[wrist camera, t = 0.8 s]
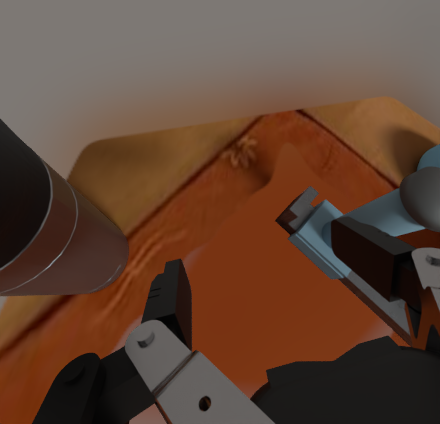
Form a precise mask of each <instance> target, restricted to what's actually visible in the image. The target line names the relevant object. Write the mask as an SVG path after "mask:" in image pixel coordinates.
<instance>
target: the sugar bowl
mask: <svg viewBox="0 0 440 424" xmlns="http://www.w3.org/2000/svg"><path fill="white" fill-rule="evenodd" d="M429 166H433V167H439V168H440V144H439V145H437V146H435V147H433V148H431V149H429V150H428V151H427V152H426V153H425V154H424V155H423V156H422V157H421V159H420V162H419V164H418V167H417V171H418V170H420V169H422V168H424V167H429Z"/></svg>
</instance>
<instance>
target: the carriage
mask: <svg viewBox="0 0 440 424" xmlns="http://www.w3.org/2000/svg"><path fill="white" fill-rule="evenodd" d="M314 208H315V210H314V211H313V212H312V214H311V215H310V216H309V217H308V218H307V219H306V221H305V222H304V223H303V224H302V225H301V227H300V228H299V229H298V230H297V231H296V232H295V233H294V234H292V235H290V237H289V238H288V240H290V241H291V242H292V243H293V244H294V245H295V246H296V247H297V248H298V249H299V250H300V251H301V252H303V253H304V254H305V255H306V256H307V257H308V258H309V259H310V260H311V261H312V262H313V263H314V264H315V265H316V266H318V268H320V269H321V270H322V271H323V272H324V273H325V274H326V275H327V276H328V277H329V278H330V279H341V278H343V277H347V276H348V274H349V273H350V271H351V269H350V268H349V267H347V266H346V265H345V264H344V263H343V262H342V261H340V260H339V259H338V258H337V257H336V256H335V255H334V253H333V251H332V247H331V221H332V220H334V219H338V218H342V217H346V216H349V217H351V218H353V219H355V220H356V221H358V222H360V223H364V224H368V225H372V226H374V227H376V228H378V229H380V230H382V232H383V231H384V232H386V233H388V234H390V236H391V235H392V236H394V237H395V236H399V235H402V234H406V233H410V232H414V231H418V230H422V229H425V228H427V229H429V230H432V231H436V232H440V168H439V167H433V166H429V167H424V168H422V169H420V170H418V171H416V172H414V173H412V174H410V175H408V176H407V177H405V178H404V179H403V180H402V182H401V184H400V188H398V189H396V190H394V191H392V192H390V193H388V194H386V195H384V196H382V197H380V198H378V199H375V200H373V201H371V202H369V203H367V204H365V205H363V206H361V207H359V208H357V209H355V210H353V211H351V212H349V213H347V214H345V215H343V214H342V213H341V212H340V211H339V210H337V209H336V208H335V207H334V206H333V205H332V204H331V203H329V202H328V201H327V200H325V201H322V202H321V203H320V204H318V205H316V206H315V207H314Z"/></svg>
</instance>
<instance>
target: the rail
mask: <svg viewBox="0 0 440 424" xmlns="http://www.w3.org/2000/svg"><path fill="white" fill-rule="evenodd" d="M317 195H318V192H317V191H316V190H315V189H313V188H312V187H311V186H310V187H309V188H307V189H306V190H305V191H304V192H303V193H302V194H300V195H299V196H298V197H297V198H296V199H295V200H293V202H292V203H291V204H290V205H289V206H288V207H287V208H286V209H285V210H284V211H283V212H282V214H281V215H280V216H279V217H278V218H277V219H276V220H275V221H276V222H277V223H278V224H279V225H280V226H281V227H282V228H284V229H285V230H286V231H287V232H288V233H289V234H290V235H292V234H294V233H295V232H296V231H297V230H298V229H299V228H300V227H301V225H302V224H303V223H304V222H305V221H306V219H307V218H308V217H309V216H310V215H311V214H312V212H313V211H314V210H315V208H314V207H313V206H312V205H311V204H310V203H311V202H312V200H313V199H314V198H315V197H316V196H317ZM339 280H340V281H341V282H342V283H343V284H344V285H345V286H346V287H347V288H349V290H351V291H352V292H353V293H354V294H355V295H356V296H357V297H358V298H359V299H360V300H361V301H362V302H364V303H365V304H366V305H367V306H368V307H369V308H370V309H371V310H372V311H373V312H374V313H376V314H377V315H378V316H379V317H380V318H381V319H382V320H383V321H384V322H385V323H386V324H387V325H388V326H390V327H391V328H392V329H393V330H394V331H395V332H396V333H397V334H398V335H399V336H400V337H401V338H403V339H404V340H405V341H406V342H407V343H408V344H409V345H410V346H411V347H413V345H412V340H411V336H410V331H409V327H408V322H407V318H406V313H405V308H404V307H405V301H404V300H402V299H401V300H397V301H393V302H390V303H389V302H388V301H387V300H386V299H385V298H384V297H382V296H381V295H380V294H379V293H378V292H377V291H375V290H374V289H373V288H372V287H371V286H370V285H368V284H367V283H366V282H365V281H364V280H363V279H361V278H360V277H359V276H358V275H357V274H356V273H354V272H353V271H352V270H351V271H350V273H349V274H348V276H347V277H343V278H341V279H339Z"/></svg>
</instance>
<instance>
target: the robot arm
mask: <svg viewBox="0 0 440 424" xmlns="http://www.w3.org/2000/svg"><path fill="white" fill-rule="evenodd" d="M331 247H332V251H333V253H334V255H335V256H336V257H337V258H338V259H339V260H340V261H342V262H343V263H344V264H345V265H346V266H347V267H349V268H350V269H351V270H352V271H353V272H354V273H356V274H357V275H358V276H359V277H360V278H361V279H363V280H364V281H365V282H366V283H367V284H368V285H370V286H371V287H372V288H373V289H374V290H375V291H377V292H378V293H379V294H380V295H381V296H382V297H384V298H385V299H386V300H387V301H388V302H389V303H390V302H393V301H397V300H401V299H402V300H404V301H405V307H404V308H405V313H406V318H407V322H408V327H409V331H410V336H411V340H412V345H413V347H405V346H398V345H397V344H396V343H395V342H394V341H393V340H392V339H391V338H390V337H389V336H385V337H382V338H378V339H375V340H371V341H367V342H364V343H360V344H358V345H356V346H355V347H354V348H352V349H351V350H349V351H348V352H346V353H345V354H343V355H342V356H340V357H339V358H337V359H336V360H334V361H323V362H321V361H306V362H305V361H304V362H303V361H302V362H293V363H290V364H286V365H283V366H279V367H275V368H272V369H268V370H266V372H267V378H268V382H267V383H266V384H264V385H263V386H262V387H261V388H259V390H257V391H256V392H255V393H254V395H253V396H252V397H251V398H250V399H249V398H248V397H247V396H245V394H243V392H241V391H240V390H239V389H238V388H237V387H236V386H235V385H234V384H233V383H232V382H231V381H230V380H229V379H227V377H226V376H225V375H224V374H223V373H222V372H220V371H219V370H218V369H217V368H216V367H215V366H214V365H213V364H212V363H211V362H210V361H209V360H208V359H207V358H206V357H205V356H204V355H203V354H202V353H200V352H199V351H197V350H195V351H194V352H192V294H191V287H190V284H189V280H188V277H187V274H186V271H185V268H184V265H183V262H182V260H181V259H177V260H173V261H169V262H166V264H165V269H164V273H162V274H158V275H157V276H156V277H155V279H154V280H153V281H152V283H151V287H150V292H149V295H148V299H147V302H146V306H145V310H144V314H143V318H142V321H141V325H139V326H138V327H136V328H135V329H134V330H133V331H132V332H131V334H130V335H129V336H128V338H127V340H126V343H125V346H124V347H122V348H121V349H119V350H117V351H115V352H114V353H112V354H110V355H108V356H106V357H105V358H103V359H101V360H100V358H99V357H98V355H97V354H95V353H86V354H83V355H81V356H79V357H77V358H75V359H74V360H72V361H71V362H70V363H68V364H67V365H66V366H65V367H64V368H63V369H62V370H61V371H60V372H59V374H58V375H57V376H56V378H55V380H54V381H53V383H52V385H51V387H50V389H49V391H48V393H47V395H46V397H45V399H44V401H43V403H42V405H41V407H40V409H39V411H38V413H37V415H36V417H35V419H34V421H33V423H32V424H129V421H130V420H131V419H132V418H133V417H135V416H136V415H138V414H139V413H141V412H142V411H144V410H145V409H147V408H148V407H150V406H151V405H153V404H154V403H155V405H156V407H157V408H158V410H159V412H160V413H161V415H162V416H163V418H164V420H165V421H166V423H167V424H440V249H437V248H419V249H417V248H415V247H413V246H411V245H409V244H407V243H405V242H403V241H401V240H399V239H398V238H396V237H394V236H392V235H391V236H390V234H388V233H386V232H384V231H383V232H382V230H380V229H378V228H376V227H374V226H372V225H368V224H364V223H360V222H358V221H356V220H355V219H353V218H351V217H349V216H346V217H342V218H338V219H334V220H332V221H331ZM128 254H129V248H128V243H127V239H126V237H125V236H124V234H123V232H122V231H121V230H120V229H119V228H118V227H117V226H116V225H114V224H113V223H112V222H111V221H110V220H109V219H108V218H107V217H106V216H105V215H104V214H103V213H101V212H100V211H99V210H98V209H97V208H96V207H95V206H94V205H93V204H91V203H90V202H89V201H88V200H87V199H86V198H85V197H84V196H83V195H82V194H80V193H79V192H78V191H77V190H76V189H75V188H74V187H73V186H72V185H70V184H69V183H68V182H67V181H66V180H65V179H64V178H62V177H61V176H60V175H59V174H58V173H57V172H56V171H55V170H53V169H52V168H51V167H50V166H49V165H48V164H47V163H46V162H45V161H43V160H42V159H41V158H40V157H39V156H38V155H37V154H36V153H35V152H34V151H33V150H32V149H31V148H30V147H28V146H27V145H26V144H25V143H24V142H23V141H22V140H21V139H20V138H19V137H17V136H16V135H15V133H14V132H13V131H12V130H11V129H10V128H9V127H8V126H7V125H6V124H5V123H4V122H3V121H2V120H1V119H0V296H27V295H61V294H87V293H93V292H96V291H99V290H101V289H103V288H105V287H107V286H109V285H110V284H111V283H113V282H114V281H115V280H116V279H117V278H118V277H119V276H120V274H121V273H122V271H123V270H124V268H125V265H126V263H127V260H128Z"/></svg>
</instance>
